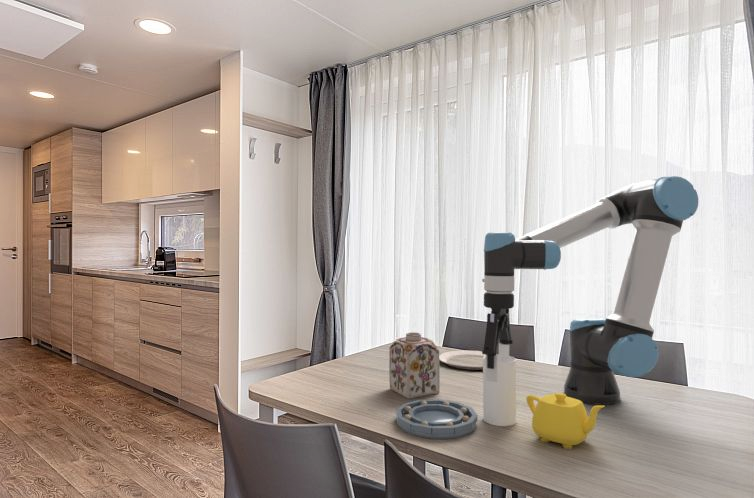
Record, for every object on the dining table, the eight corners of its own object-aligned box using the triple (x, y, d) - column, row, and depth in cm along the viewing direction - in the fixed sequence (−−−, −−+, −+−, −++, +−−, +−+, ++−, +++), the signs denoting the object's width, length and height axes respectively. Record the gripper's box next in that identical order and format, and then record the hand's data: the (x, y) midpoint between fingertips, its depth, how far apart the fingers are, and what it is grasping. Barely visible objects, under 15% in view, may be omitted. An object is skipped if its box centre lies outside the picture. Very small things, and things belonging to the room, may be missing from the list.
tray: (485, 416, 122) (485, 406, 122) (462, 445, 104) (462, 433, 104) (415, 404, 131) (415, 395, 131) (383, 429, 114) (383, 419, 114)
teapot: (613, 444, 104) (613, 397, 104) (595, 461, 96) (595, 410, 96) (536, 423, 117) (536, 381, 117) (515, 436, 109) (515, 391, 109)
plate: (427, 358, 186) (427, 353, 186) (483, 353, 194) (483, 348, 194) (457, 374, 162) (457, 369, 162) (520, 368, 170) (520, 363, 170)
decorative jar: (388, 388, 146) (388, 332, 146) (419, 383, 151) (419, 328, 151) (408, 400, 136) (407, 338, 135) (440, 393, 141) (440, 334, 141)
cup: (517, 427, 115) (517, 362, 114) (483, 425, 116) (483, 361, 116) (514, 415, 123) (514, 355, 122) (482, 413, 124) (482, 353, 124)
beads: (478, 412, 122) (478, 405, 122) (458, 436, 106) (458, 429, 106) (417, 402, 130) (417, 396, 130) (390, 423, 114) (390, 416, 114)
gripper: (495, 287, 132) (494, 362, 132) (470, 295, 110) (469, 384, 110) (522, 289, 128) (522, 365, 129) (502, 297, 106) (501, 389, 106)
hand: (497, 374), depth 119 cm, fingers open, 13 cm apart
